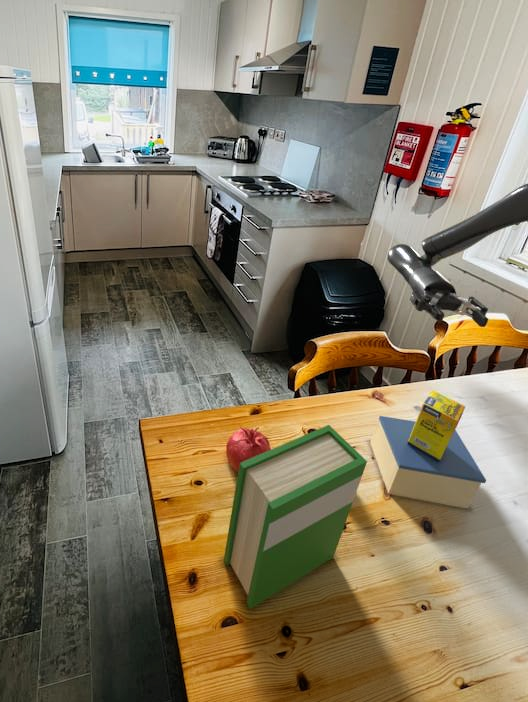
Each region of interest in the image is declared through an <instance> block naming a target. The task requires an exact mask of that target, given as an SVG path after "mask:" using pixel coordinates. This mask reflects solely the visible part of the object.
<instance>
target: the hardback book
mask: <svg viewBox="0 0 528 702" xmlns="http://www.w3.org/2000/svg"><path fill="white" fill-rule="evenodd" d="M367 463H368V461H367V459H365V458H364V457H363V455H361V454H360V453H359V452H358V451H357V449H355V448H354V447H353V446H352V445H351V444H350V443H348V441H347V440H346V439H344V437H343V436H342V435H340V434H339V433H338V432H337V431H336V430H335V429H334V428H333V427H332V426H331V425H330V424H327V425H325V426H323V427H320V428H318V429H316V430H313V431H311V432H308V433H306V434H304V435H302V436H299V437H297V438H295V439H292V440H290V441H287V442H285V443H283V444H280V445H279V446H276V447H273V448H271V450H269V451H267V452H264V453H262V454H260V455H257V456H255V457H253V458H250V459H248V460H246V461H243V462H241V463H240V465H239V471H238V472H237V478H236V483H235V489H234V495H233V502H232V509H231V514H230V520H229V526H228V531H227V538H226V544H225V549H224V555H223V562H224V564H225V566H226V567H228V566H231V568H232V570H233V572H234V573H235V575H236V577H237V579H238V580H239V582H240V584H241V586H242V588H243V589H244V592H245V594H246V595H247V598H246V602H245V603H246V605H247V607H248V609H249V610H251V609H252V608H254V607H256V606H258V605H260V604H261V603H263V602H264V601H265V600H267V599H269V598H270V597H272V596H273V595H275V594H277V593H279V592H280V591H282V590H283V589H285V588H286V587H288V586H290V585H291V584H293V583H295V582H296V581H298V580H300V579H301V578H303V577H305V576H306V575H308V574H309V573H311V572H312V571H314V570H315V569H317V568H319V567H320V566H322V565H324V564H326V563H327V562H328V561H330V560H332V559H333V558H334V557H335V555H336V551H337V549H338V545H339V543H340V539H341V537H342V535H343V531H344V528H345V526H346V523H347V520H348V517H349V514H350V512H351V508H352V506H353V503H354V501H355V497H356V494H357V491H358V488H359V487H360V486H359V485H360V483H361V480H362V478H363V474H364V472H365V468H366V465H367Z"/></svg>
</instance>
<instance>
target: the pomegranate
mask: <svg viewBox="0 0 528 702" xmlns="http://www.w3.org/2000/svg"><path fill="white" fill-rule="evenodd" d="M259 429H260V427H259V426H258V427H255V429H253V428H246V427H244V428H243V427H242V426H240V427H239V429H238V430H236V431H234V432H233V433H232V434H231V435H230V436H229V439H228V441H227V443H226V447H225V448H226V449H225V450H226V451H225V452H226V453H225V454H226V458H227V461H228V463H229V464H230V466H231V467H232V469H233V470H234V471H235V472H237V473H238V471H239V465H240V463H241V462H243V461H246V460H248V459H250V458H253V457H255V456H257V455H260V454H262V453H264V452H267V451H269V450H271V449H272V448H271V444H270V441H269V440H271V438H269V437H267V436H266V435H264V434H263V433H262V432H261V431H258V430H259Z"/></svg>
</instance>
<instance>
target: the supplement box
mask: <svg viewBox="0 0 528 702" xmlns="http://www.w3.org/2000/svg"><path fill="white" fill-rule="evenodd" d="M465 409H466V405H464V404H462V403H460V402H458V401H456V400H454V399H452V398H449V397H448V396H445V395H444V394H442V393H440V392H438V391H436V390H433V389H431V390H430V393H429V395H428V396H427V398H426V399H425V400H424V402H422V405H421V408H420V411H419V413H418V416H417V418H416V421H415V422H416V423H415V425H414V428H413V430H412V433H411V435H410V438H409V440H408V442H407V444H408V445H410V446H412V447H413V448H415V449H417V450H418V451H420V452H422V453H424V454H425V455H427V456H429V457H430V458H432V459H434V460H436V461H437V462H440V460H441V458H442V455H443V453H444V451H445V449H446V447H447V445H448V443H449V441H450V439H451V437H452V435H453V433H454V431H455V430H456V429H457V427H458V424H459V422H460V420H461V418H462V416H463V414H464V411H465Z"/></svg>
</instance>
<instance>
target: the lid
mask: <svg viewBox="0 0 528 702" xmlns="http://www.w3.org/2000/svg"><path fill="white" fill-rule="evenodd" d="M378 419H379V420H380V423H381V425H382V428H383V430H384V433H385V435H386V438H387V440H388V443H389V445H390V448H391V450H392V453H393V455H394V458H395V460H396V463H397V465H398V468H402V469H407V470H413V471H419V472H424V473H430V474H435V475H441V476H447V477H452V478H458V479H463V480H469V481H475V482H480V483H481V484H486V482H487V479H486V477H485V476H484V474H483V473H482V471H481V469H480V468H479V466H478V464H477V462H476V461H475V459H474V457H473V456H472V454H471V453H470V451H469V449H468V447H466V444H465V443H464V441H463V439H462V438H461V436H460V435H459V433H458V431H457V430H456V429H455V431H454V433H453V435H452V437H451V439H450V441H449V443H448V445H447V447H446V449H445V451H444V453H443V455H442V458H441V460H440V462H437V461H436V460H434V459H432V458H430V457H429V456H427V455H425V454H424V453H422V452H420V451H418V450H417V449H415V448H413V447H412V446H410V445H408V444H407V442H408V440H409V438H410V435H411V433H412V430H413V428H414V425H415V423H416V421H415V420H409V419H402V418H398V417H397V418H395V417H390V416H383V415H379V417H378Z"/></svg>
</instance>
